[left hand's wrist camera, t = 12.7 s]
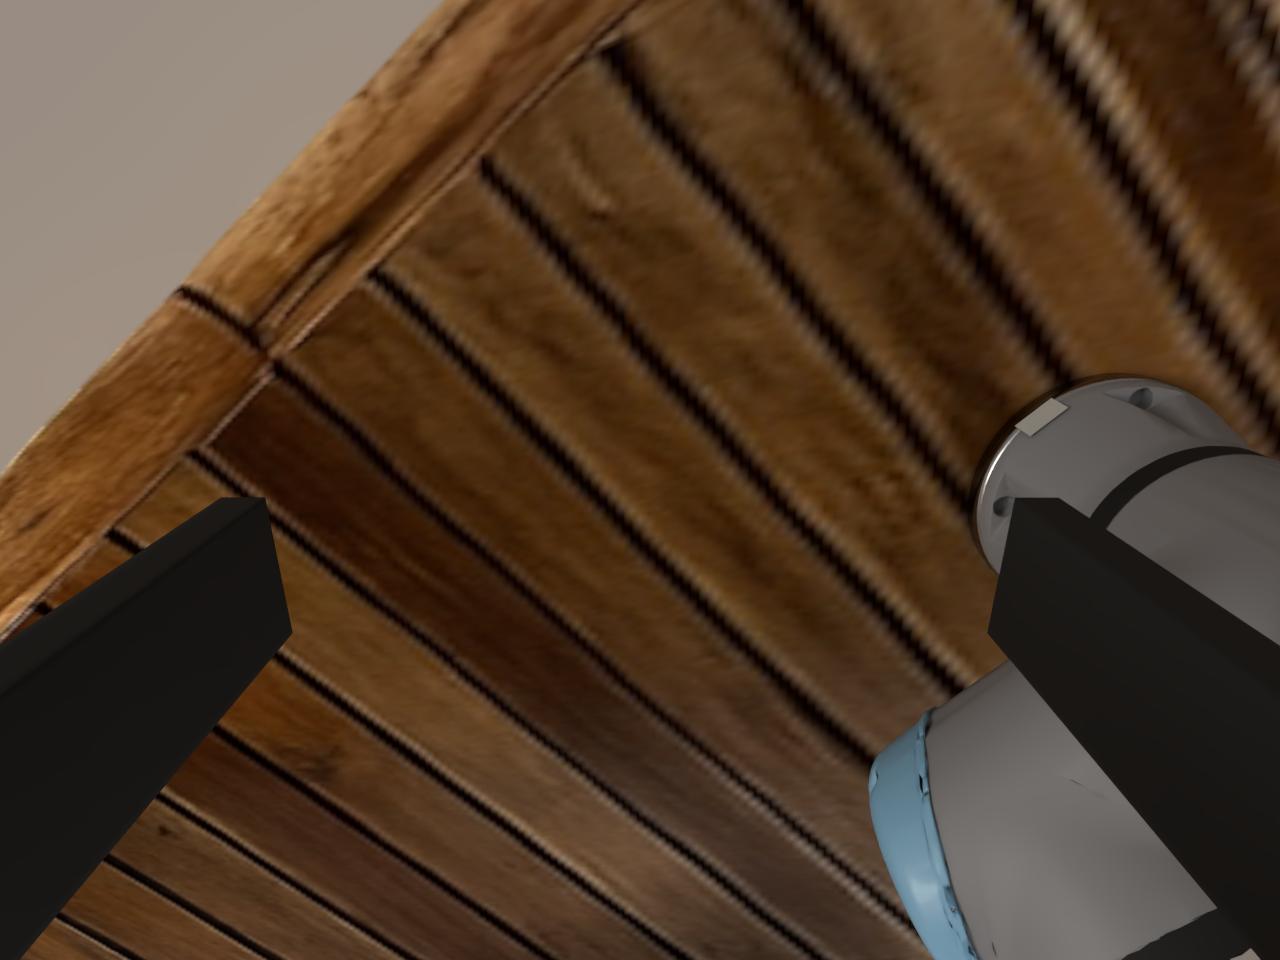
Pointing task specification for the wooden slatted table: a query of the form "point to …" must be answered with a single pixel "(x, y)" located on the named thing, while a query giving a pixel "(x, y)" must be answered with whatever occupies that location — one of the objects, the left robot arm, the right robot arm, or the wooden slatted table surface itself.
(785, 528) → the wooden slatted table surface
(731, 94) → the wooden slatted table surface
